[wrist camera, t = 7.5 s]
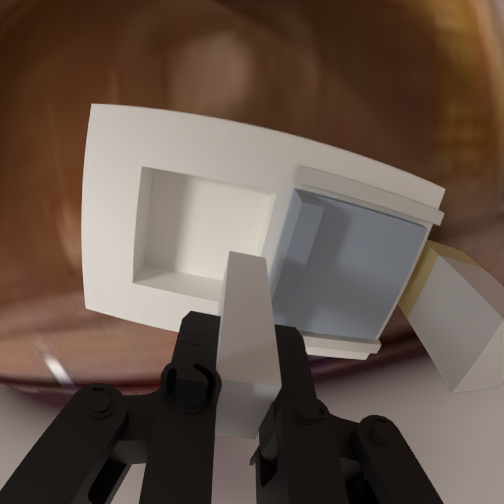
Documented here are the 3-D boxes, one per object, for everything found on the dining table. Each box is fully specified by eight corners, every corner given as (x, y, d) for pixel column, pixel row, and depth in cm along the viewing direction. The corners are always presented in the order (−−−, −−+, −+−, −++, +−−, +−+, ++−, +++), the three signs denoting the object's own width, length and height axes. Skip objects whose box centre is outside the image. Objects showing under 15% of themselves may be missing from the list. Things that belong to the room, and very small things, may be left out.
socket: (102, 285, 21) (81, 314, 17) (114, 104, 15) (85, 103, 12) (355, 334, 23) (368, 366, 19) (421, 177, 17) (452, 192, 14)
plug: (391, 295, 21) (450, 393, 12) (417, 236, 19) (503, 319, 10) (436, 303, 22) (497, 387, 13) (462, 250, 20) (541, 324, 11)
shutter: (256, 317, 18) (257, 346, 16) (293, 187, 15) (302, 201, 12) (371, 333, 19) (384, 360, 16) (422, 225, 16) (445, 243, 13)
